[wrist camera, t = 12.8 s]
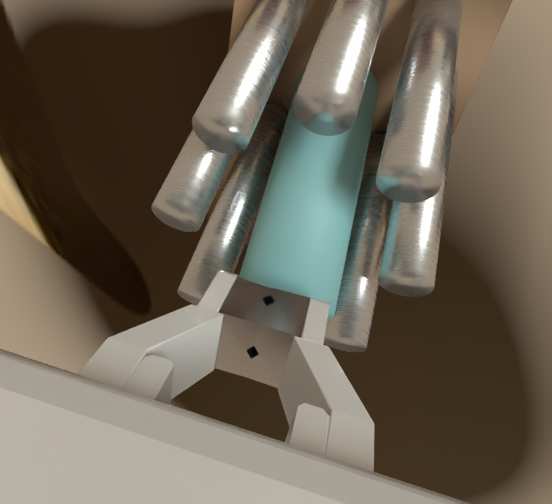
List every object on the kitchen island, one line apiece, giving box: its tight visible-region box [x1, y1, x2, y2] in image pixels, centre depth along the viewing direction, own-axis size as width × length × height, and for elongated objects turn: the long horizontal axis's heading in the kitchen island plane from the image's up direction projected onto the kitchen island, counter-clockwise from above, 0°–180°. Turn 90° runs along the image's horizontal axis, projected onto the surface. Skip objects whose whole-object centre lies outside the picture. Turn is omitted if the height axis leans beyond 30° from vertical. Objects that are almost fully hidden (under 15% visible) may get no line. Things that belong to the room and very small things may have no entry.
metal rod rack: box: [152, 0, 464, 352], centre depth 15 cm, size 15×9×11 cm, turn 168°
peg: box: [239, 66, 378, 320], centre depth 14 cm, size 3×3×9 cm
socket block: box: [207, 0, 512, 245], centre depth 19 cm, size 16×10×3 cm, turn 168°
